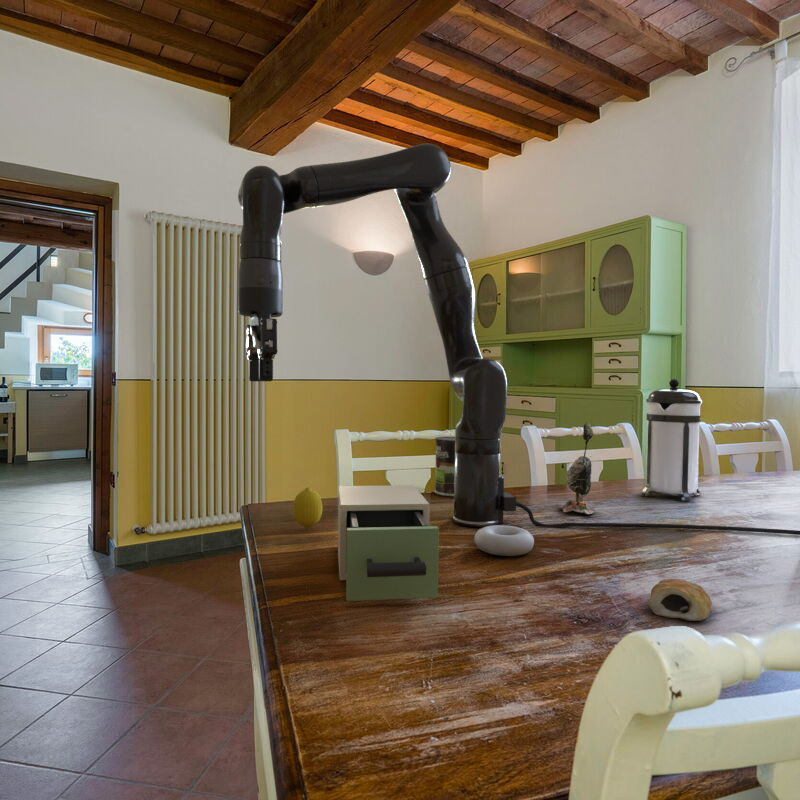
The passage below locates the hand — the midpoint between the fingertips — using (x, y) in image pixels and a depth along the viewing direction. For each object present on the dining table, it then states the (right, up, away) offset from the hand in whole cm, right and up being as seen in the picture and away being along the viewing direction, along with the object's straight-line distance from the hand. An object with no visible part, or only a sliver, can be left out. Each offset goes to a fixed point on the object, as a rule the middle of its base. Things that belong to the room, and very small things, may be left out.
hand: (260, 381), depth 99 cm
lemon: (+7, -28, +9) cm, 30 cm away
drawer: (+23, -28, -23) cm, 43 cm away
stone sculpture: (+64, -28, +28) cm, 75 cm away
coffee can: (+39, -27, +47) cm, 66 cm away
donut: (+42, -29, -3) cm, 51 cm away
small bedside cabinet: (+21, -29, -10) cm, 37 cm away
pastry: (+60, -30, -28) cm, 72 cm away
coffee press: (+95, -28, +48) cm, 110 cm away
